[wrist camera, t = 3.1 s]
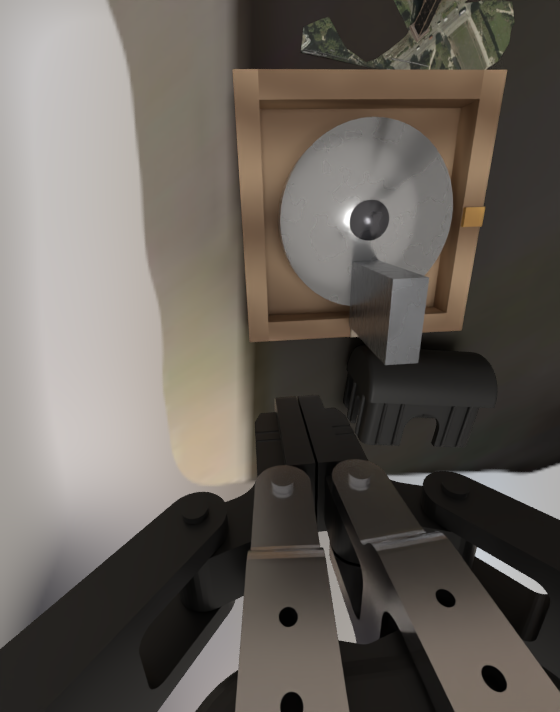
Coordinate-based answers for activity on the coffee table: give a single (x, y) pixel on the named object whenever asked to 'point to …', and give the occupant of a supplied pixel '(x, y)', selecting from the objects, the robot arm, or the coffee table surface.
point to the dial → (369, 227)
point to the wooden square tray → (311, 121)
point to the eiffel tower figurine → (429, 36)
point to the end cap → (418, 395)
